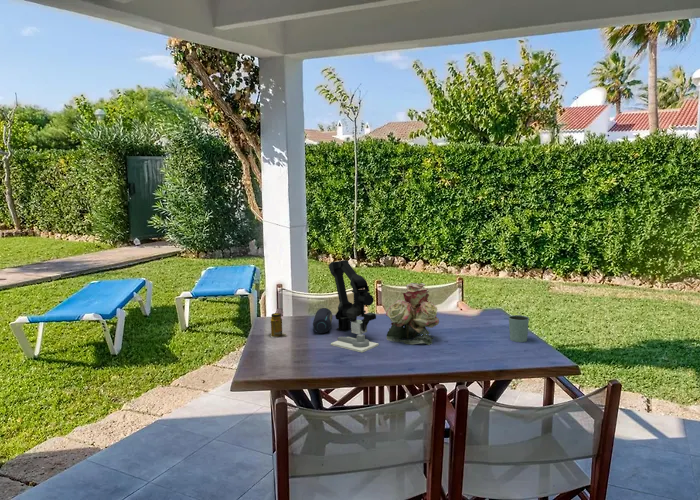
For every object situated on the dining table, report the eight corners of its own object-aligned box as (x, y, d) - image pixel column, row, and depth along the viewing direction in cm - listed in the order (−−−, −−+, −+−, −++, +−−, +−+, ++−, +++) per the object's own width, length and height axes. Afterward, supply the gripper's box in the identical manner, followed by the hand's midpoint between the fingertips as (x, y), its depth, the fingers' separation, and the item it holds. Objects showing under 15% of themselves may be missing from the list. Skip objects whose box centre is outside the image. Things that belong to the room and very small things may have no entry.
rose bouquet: (381, 342, 278) (381, 285, 274) (402, 328, 303) (402, 276, 299) (428, 349, 266) (429, 290, 262) (446, 334, 292) (447, 279, 287)
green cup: (529, 343, 274) (530, 320, 272) (508, 342, 276) (509, 319, 275) (526, 337, 284) (527, 315, 282) (507, 336, 286) (507, 314, 284)
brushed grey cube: (351, 332, 287) (351, 321, 287) (358, 330, 292) (358, 319, 291) (360, 334, 284) (360, 323, 283) (367, 332, 288) (366, 321, 288)
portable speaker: (330, 335, 292) (330, 317, 290) (312, 335, 292) (312, 317, 291) (333, 322, 317) (332, 306, 315) (316, 322, 317) (315, 306, 316)
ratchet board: (330, 345, 275) (330, 333, 274) (347, 338, 285) (347, 327, 285) (361, 352, 262) (361, 340, 261) (378, 345, 273) (378, 334, 272)
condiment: (270, 334, 295) (269, 312, 293) (285, 332, 297) (284, 311, 295) (271, 338, 288) (270, 316, 286) (287, 336, 290) (286, 315, 288)
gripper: (335, 302, 285) (336, 330, 287) (363, 307, 274) (364, 336, 276) (348, 298, 294) (349, 326, 296) (376, 303, 282) (376, 331, 284)
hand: (359, 330), depth 288 cm, fingers closed on brushed grey cube, 6 cm apart
